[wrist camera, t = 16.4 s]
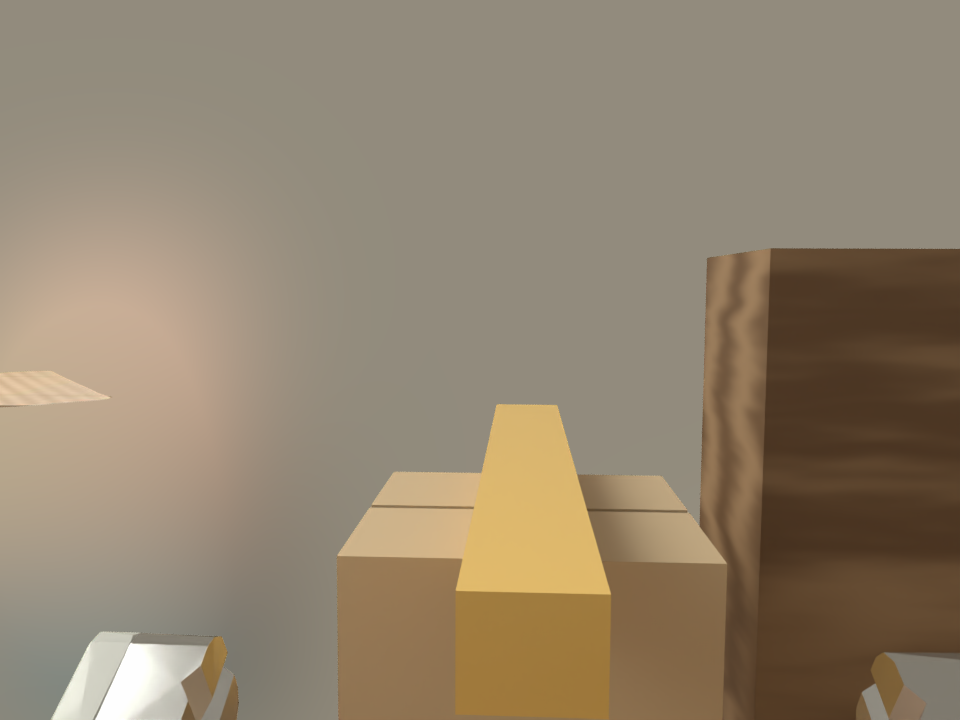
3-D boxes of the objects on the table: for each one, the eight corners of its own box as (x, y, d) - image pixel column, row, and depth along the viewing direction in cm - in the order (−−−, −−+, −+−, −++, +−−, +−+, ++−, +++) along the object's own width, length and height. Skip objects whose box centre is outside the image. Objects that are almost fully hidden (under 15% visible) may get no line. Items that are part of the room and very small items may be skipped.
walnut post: (1029, 850, 37) (1068, 249, 35) (750, 841, 37) (770, 248, 35) (904, 712, 49) (927, 258, 47) (694, 706, 49) (707, 257, 47)
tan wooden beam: (608, 719, 17) (611, 594, 16) (455, 714, 17) (455, 590, 16) (556, 454, 42) (556, 405, 42) (496, 453, 43) (496, 404, 42)
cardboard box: (711, 1049, 27) (727, 563, 26) (341, 1032, 28) (336, 556, 26) (653, 816, 39) (661, 475, 38) (395, 807, 40) (393, 471, 38)
